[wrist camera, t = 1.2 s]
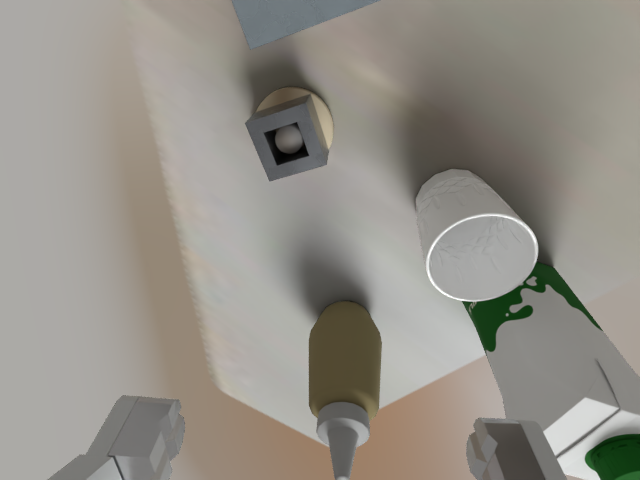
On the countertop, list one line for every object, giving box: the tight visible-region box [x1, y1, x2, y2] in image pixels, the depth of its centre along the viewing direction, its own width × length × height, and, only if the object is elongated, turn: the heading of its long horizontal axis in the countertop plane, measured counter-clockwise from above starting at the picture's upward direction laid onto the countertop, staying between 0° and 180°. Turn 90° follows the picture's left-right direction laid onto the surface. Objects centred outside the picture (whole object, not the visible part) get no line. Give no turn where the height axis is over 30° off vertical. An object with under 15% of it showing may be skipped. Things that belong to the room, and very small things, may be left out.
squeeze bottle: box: [309, 301, 382, 480], centre depth 37 cm, size 8×8×18 cm
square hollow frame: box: [245, 93, 329, 181], centre depth 31 cm, size 5×5×4 cm
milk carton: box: [462, 261, 640, 480], centre depth 32 cm, size 9×9×20 cm
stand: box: [256, 87, 334, 153], centre depth 32 cm, size 7×7×4 cm
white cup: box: [416, 169, 538, 302], centre depth 32 cm, size 8×8×10 cm
